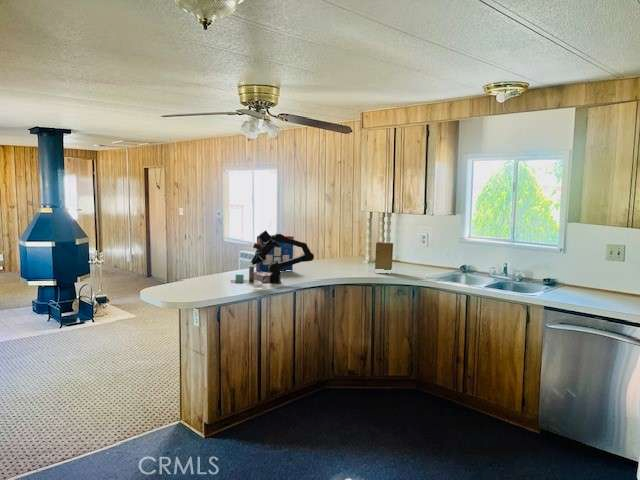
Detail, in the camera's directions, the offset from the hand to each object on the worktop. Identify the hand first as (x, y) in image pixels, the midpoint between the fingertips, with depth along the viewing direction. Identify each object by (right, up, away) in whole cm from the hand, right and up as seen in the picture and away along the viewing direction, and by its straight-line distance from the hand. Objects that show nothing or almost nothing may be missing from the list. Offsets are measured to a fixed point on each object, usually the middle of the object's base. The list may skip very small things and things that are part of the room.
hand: (251, 263), depth 325 cm
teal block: (-8, -12, -1) cm, 15 cm away
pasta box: (+10, -9, +54) cm, 56 cm away
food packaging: (+98, -11, +66) cm, 119 cm away
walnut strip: (-5, -13, 0) cm, 14 cm away
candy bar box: (0, -9, +19) cm, 21 cm away
